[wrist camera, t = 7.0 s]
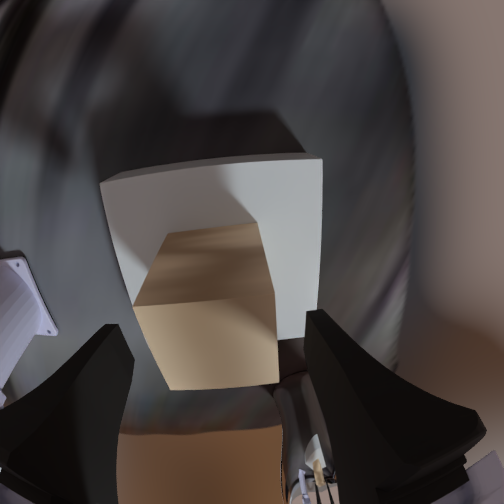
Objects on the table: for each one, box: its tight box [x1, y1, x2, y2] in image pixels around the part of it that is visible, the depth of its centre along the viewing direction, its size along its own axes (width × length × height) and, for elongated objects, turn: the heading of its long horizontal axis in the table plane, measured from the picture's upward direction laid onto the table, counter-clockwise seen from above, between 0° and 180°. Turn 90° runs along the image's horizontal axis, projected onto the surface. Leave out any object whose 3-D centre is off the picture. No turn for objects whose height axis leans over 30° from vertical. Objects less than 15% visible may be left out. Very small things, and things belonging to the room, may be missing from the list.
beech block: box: [132, 223, 279, 390], centre depth 12 cm, size 4×4×6 cm
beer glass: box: [273, 371, 339, 504], centre depth 18 cm, size 7×7×15 cm
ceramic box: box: [99, 153, 322, 346], centre depth 16 cm, size 11×11×4 cm
